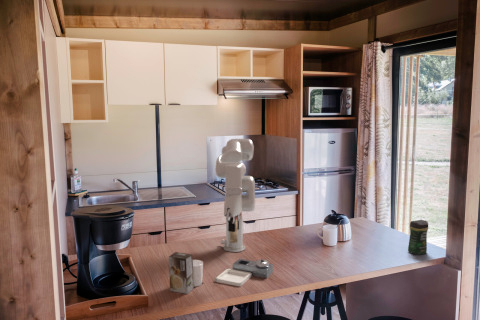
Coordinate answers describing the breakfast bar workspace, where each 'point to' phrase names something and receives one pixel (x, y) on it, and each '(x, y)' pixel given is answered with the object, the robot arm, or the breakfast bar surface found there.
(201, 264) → the white cup
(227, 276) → the tray
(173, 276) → the coffee box
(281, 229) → the breakfast bar surface
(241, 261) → the block
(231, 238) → the lock pin
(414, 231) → the coffee jar
